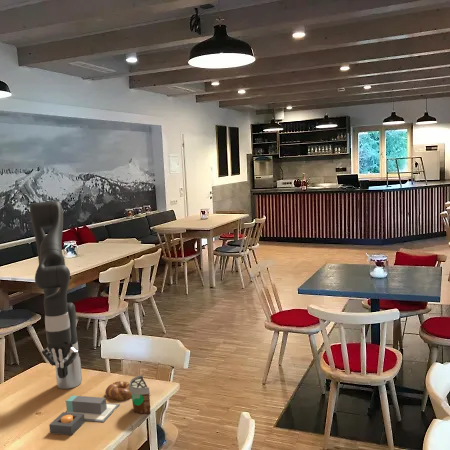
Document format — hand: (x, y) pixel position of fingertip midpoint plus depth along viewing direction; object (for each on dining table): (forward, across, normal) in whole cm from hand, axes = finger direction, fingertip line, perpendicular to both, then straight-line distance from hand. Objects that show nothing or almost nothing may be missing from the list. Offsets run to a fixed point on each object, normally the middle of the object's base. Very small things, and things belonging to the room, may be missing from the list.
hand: (63, 377), depth 160 cm
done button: (+17, 0, 0) cm, 17 cm away
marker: (+17, -1, -11) cm, 20 cm away
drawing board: (+18, -2, -11) cm, 21 cm away
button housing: (+18, 0, 0) cm, 18 cm away
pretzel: (+18, -7, -25) cm, 32 cm away
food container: (+18, -19, -15) cm, 30 cm away
